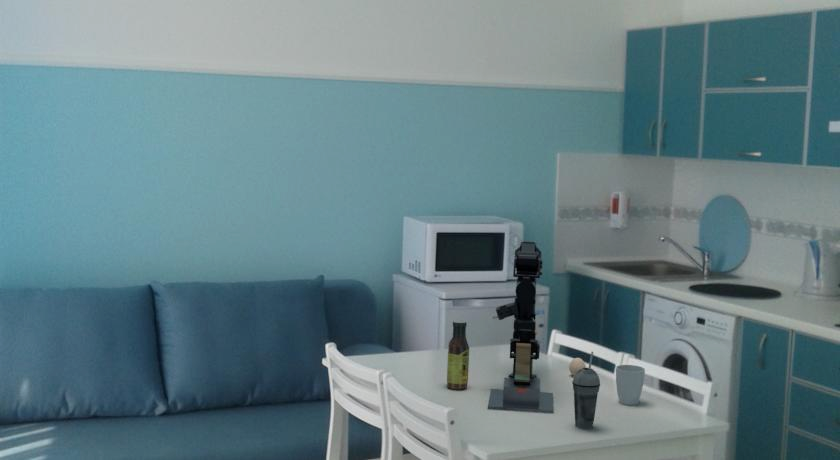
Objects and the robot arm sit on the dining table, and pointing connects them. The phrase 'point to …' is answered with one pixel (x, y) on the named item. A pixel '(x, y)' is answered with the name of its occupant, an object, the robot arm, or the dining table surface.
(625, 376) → the cup
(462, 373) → the sauce bottle
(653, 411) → the dining table surface
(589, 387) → the beverage cup
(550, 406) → the stand
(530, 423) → the dining table surface
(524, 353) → the post
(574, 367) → the egg
